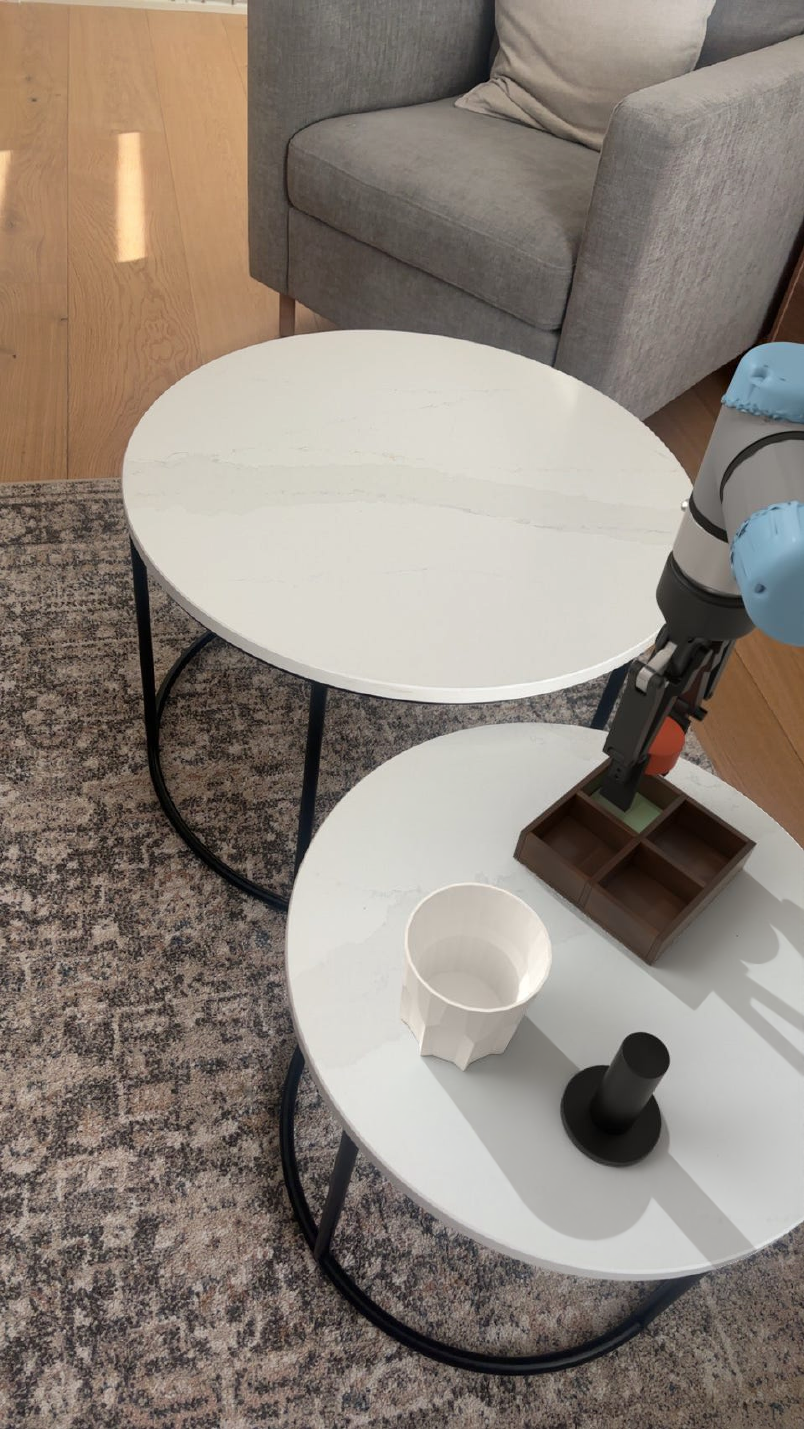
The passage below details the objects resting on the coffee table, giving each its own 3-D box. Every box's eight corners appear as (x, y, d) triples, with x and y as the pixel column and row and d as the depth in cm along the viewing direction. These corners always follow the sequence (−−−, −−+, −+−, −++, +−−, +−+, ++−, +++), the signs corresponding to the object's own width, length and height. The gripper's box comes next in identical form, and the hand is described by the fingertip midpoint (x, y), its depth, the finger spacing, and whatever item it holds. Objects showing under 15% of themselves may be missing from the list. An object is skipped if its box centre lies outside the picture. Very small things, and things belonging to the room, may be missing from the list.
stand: (673, 1158, 75) (716, 1098, 68) (577, 1174, 73) (612, 1114, 67) (638, 1063, 80) (676, 998, 73) (548, 1076, 78) (577, 1011, 71)
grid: (743, 868, 93) (757, 843, 91) (650, 966, 85) (663, 942, 83) (610, 772, 99) (620, 746, 97) (512, 856, 91) (520, 830, 89)
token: (685, 773, 88) (694, 753, 87) (628, 777, 87) (636, 757, 86) (663, 728, 92) (672, 708, 90) (608, 732, 91) (615, 712, 89)
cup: (548, 1049, 80) (579, 978, 72) (428, 1102, 76) (448, 1034, 69) (481, 940, 85) (504, 865, 78) (366, 984, 82) (379, 910, 74)
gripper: (743, 495, 82) (657, 709, 99) (603, 592, 72) (533, 812, 89) (831, 543, 79) (727, 756, 96) (697, 651, 69) (607, 868, 86)
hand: (634, 782), depth 92 cm, fingers open, 5 cm apart
